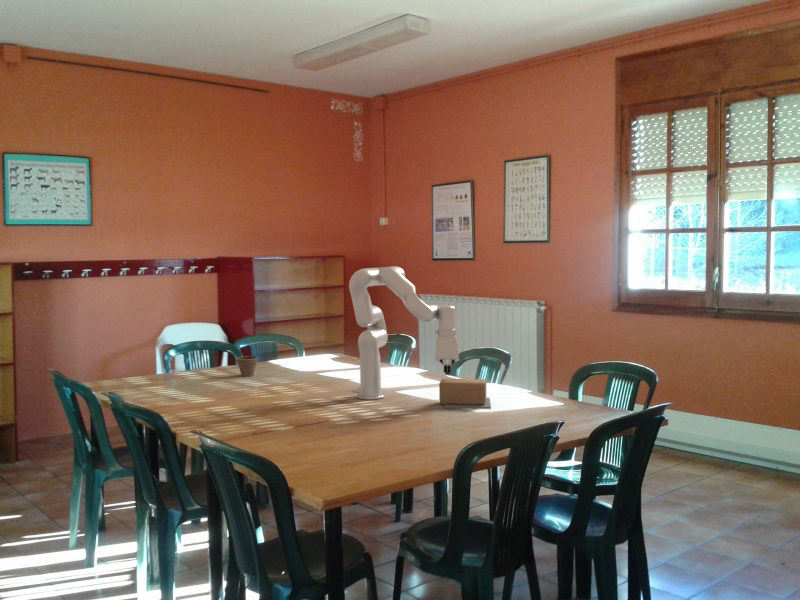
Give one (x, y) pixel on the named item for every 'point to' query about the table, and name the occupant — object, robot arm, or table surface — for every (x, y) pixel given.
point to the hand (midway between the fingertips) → (447, 374)
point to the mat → (486, 405)
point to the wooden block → (462, 391)
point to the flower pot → (247, 365)
